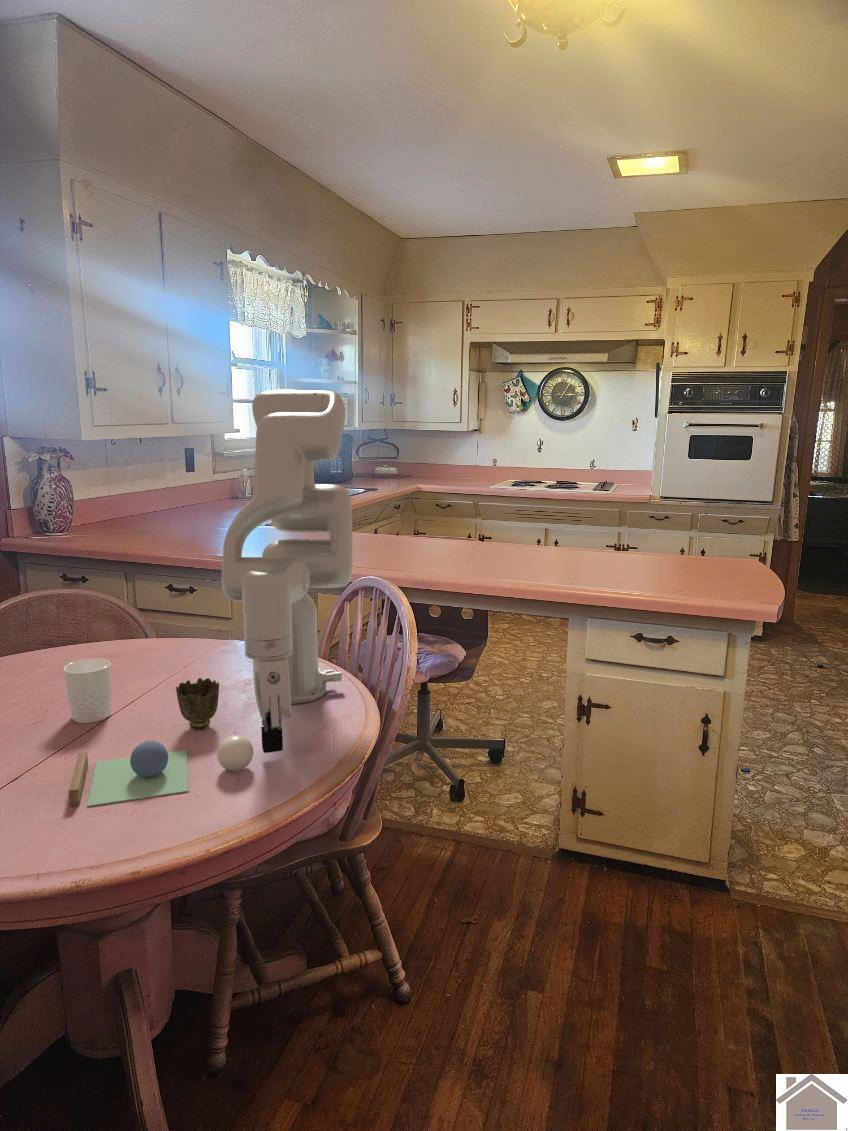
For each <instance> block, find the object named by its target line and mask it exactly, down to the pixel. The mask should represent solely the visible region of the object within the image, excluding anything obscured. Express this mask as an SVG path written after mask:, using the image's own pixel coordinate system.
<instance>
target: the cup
mask: <svg viewBox="0 0 848 1131" xmlns="http://www.w3.org/2000/svg"><path fill="white" fill-rule="evenodd" d="M175 692H176V696H177V702H178V707H179V711H180V713H181V716H182V718H184V719H185V720H186V721H188V724H189V727H190V728H191V730H196V731H197V730H198V731H200V730H205V729H207V728H209V726H210V724H211V719H212V718H213V717H214V716H215V714H216V713H217V710H218V706H219V695H220V694H219V692H220V683H219V681H216V680H213V681H212V680H211V679H210V678H209V677H207V678H205V679H202V678H201V677H199V678H198V679H197V681H196V682H191V681H190V680H189V679H188V680H186V682H180V683H179V684H178V686H177V685H176V687H175Z"/></svg>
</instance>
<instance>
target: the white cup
mask: <svg viewBox="0 0 848 1131" xmlns="http://www.w3.org/2000/svg"><path fill="white" fill-rule="evenodd" d="M111 668H112V667H111V661H110V660H108V659H106V658H100V657H99V658H96V657H94V658H85V659H80V660H75V661H72V662H69V663H68V664H66V665H65V666H64V667H63V668H62V669H63V675H64V681H65V682H64V683H65V688H66V693H67V694H66V695H67V699H68V700H67V701H68V705H69V709H70V715H71V719H72V720H73V721H74V723H75V722H76V723H78V724H79V723H80V724H89V723H90V724H92V723H96V722H100V721H102V720H105V719H107V718H108V717H110V716H111V714H112V672H111V670H112V669H111Z"/></svg>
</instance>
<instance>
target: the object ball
mask: <svg viewBox="0 0 848 1131" xmlns="http://www.w3.org/2000/svg"><path fill="white" fill-rule="evenodd" d="M167 750H168V749H167V748H166V747H165V746H164V745H163V744H162V743H161V742H159V741H157V740H146V741H143V742H141V743H139V744H138V745H136V746H135V747H134V749H133V750H132V752H131V754H130V757H131V758H130V764H131V768H132V770H133V771H134V772H135V773H136V774H137V775H139V776H141V777H145V778H150V777H154V776H157V775H158V774H160V773H161V772H162V771H163V770H164V769H165V767H166V766H167V763H168V752H169V751H167Z"/></svg>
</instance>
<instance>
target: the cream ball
mask: <svg viewBox="0 0 848 1131" xmlns="http://www.w3.org/2000/svg"><path fill="white" fill-rule="evenodd" d="M216 753H217V756H216V758H217V762H219V764H220V766H221V767H222V768H223V769H224V770H227V771H229V772H240V771H243V770H244V769H246V768H247V767H248V766H249V765H250V764H251V762H252V760H253V757H254V747H253V744H252V743H251V741H250V740H249V739H248V738H247V737H245V736H242V735H239V734H235V735H230V736H227V737H226V738H225V739H223V740H222V742H221V743H220V744H219V746H218V748H217V752H216Z"/></svg>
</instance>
